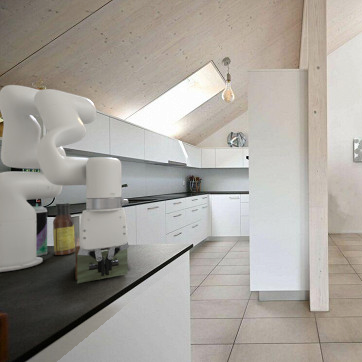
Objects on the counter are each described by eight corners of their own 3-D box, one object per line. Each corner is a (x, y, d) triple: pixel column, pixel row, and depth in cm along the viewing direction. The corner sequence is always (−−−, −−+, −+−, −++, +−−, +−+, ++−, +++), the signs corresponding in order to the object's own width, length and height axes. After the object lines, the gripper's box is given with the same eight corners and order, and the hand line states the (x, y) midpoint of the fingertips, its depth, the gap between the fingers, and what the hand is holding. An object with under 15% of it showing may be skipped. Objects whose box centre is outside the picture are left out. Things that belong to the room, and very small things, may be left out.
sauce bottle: (79, 251, 103) (79, 202, 103) (64, 256, 97) (63, 203, 97) (64, 251, 104) (64, 202, 104) (48, 255, 98) (48, 203, 98)
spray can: (32, 257, 95) (32, 203, 95) (23, 255, 97) (23, 203, 97) (50, 253, 101) (50, 202, 101) (42, 252, 102) (42, 202, 102)
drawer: (129, 279, 72) (129, 251, 72) (76, 289, 65) (76, 259, 65) (122, 262, 87) (122, 239, 87) (79, 269, 80) (79, 244, 80)
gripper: (135, 202, 75) (135, 264, 75) (67, 205, 66) (68, 276, 66) (139, 203, 69) (139, 271, 69) (65, 207, 60) (66, 286, 60)
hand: (104, 274), depth 67 cm, fingers closed
